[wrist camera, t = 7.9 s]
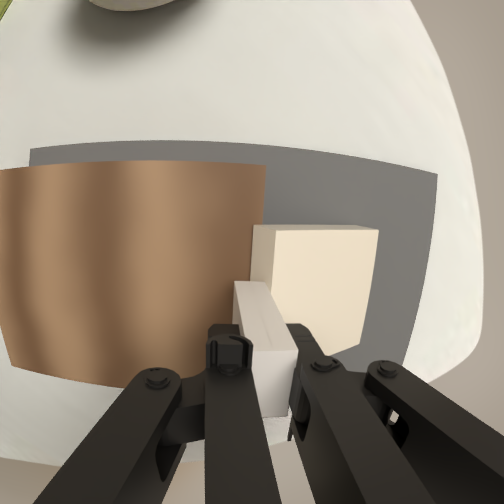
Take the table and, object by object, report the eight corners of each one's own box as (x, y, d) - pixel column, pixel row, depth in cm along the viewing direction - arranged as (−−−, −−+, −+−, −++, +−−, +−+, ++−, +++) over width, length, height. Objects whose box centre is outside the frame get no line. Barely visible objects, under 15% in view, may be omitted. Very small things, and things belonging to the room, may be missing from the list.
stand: (28, 347, 19) (11, 365, 16) (9, 172, 16) (-15, 172, 13) (244, 369, 21) (249, 394, 18) (258, 168, 18) (266, 165, 15)
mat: (53, 364, 20) (51, 367, 19) (33, 149, 16) (30, 149, 16) (398, 368, 23) (400, 370, 23) (434, 174, 20) (437, 174, 19)
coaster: (245, 360, 17) (262, 378, 15) (253, 224, 15) (276, 230, 14) (339, 333, 21) (359, 343, 19) (355, 225, 19) (378, 229, 18)
